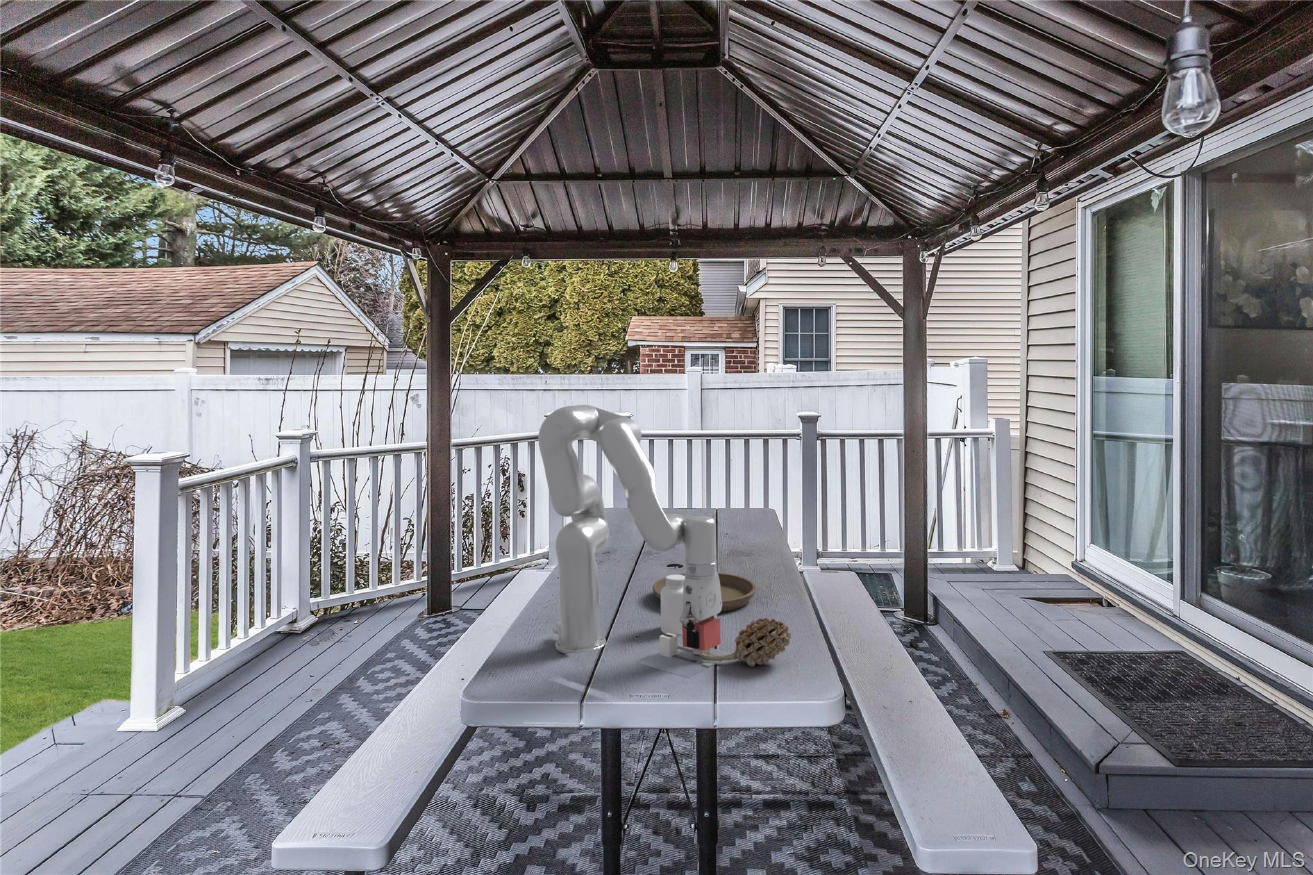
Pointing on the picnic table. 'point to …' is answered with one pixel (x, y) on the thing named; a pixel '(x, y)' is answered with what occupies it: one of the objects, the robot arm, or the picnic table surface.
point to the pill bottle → (672, 604)
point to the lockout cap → (705, 633)
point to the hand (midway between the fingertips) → (702, 642)
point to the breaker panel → (679, 658)
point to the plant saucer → (724, 590)
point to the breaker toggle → (701, 651)
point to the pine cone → (757, 642)
